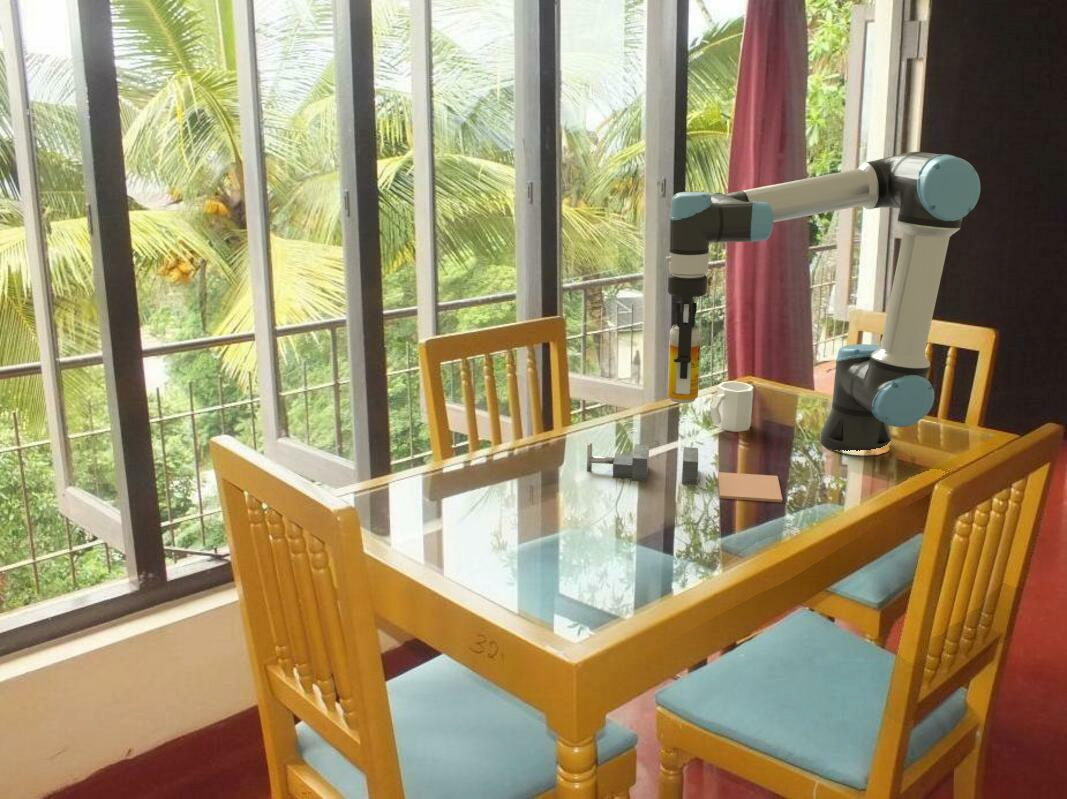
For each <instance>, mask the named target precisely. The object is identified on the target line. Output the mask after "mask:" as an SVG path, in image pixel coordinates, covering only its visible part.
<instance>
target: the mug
mask: <svg viewBox="0 0 1067 799" xmlns="http://www.w3.org/2000/svg"><path fill="white" fill-rule="evenodd" d="M753 396H754V386H753V385H751V384H749V383H747V382H740V381H735V380H731V381H722V382H720V383H719V384H718V385H717V387H716V396H715V398H714V399H713V401H712V403H711V404H710V405H709V408H710V409H709V410H710V416H711V422H712V423H713V424H714V426H716V427H717V428H718V429H720V430H721V431H728V432H733V433H737V432H744V431H749V430H750V427H751V425H752V424H751V423H752V410H753V409H752V408H753Z"/></svg>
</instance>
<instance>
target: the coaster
mask: <svg viewBox="0 0 1067 799" xmlns="http://www.w3.org/2000/svg"><path fill="white" fill-rule="evenodd" d="M717 474H718V475H717V478H718V491H719V492H718V493H719V499H727V500H739V501H740V500H743V501H756V502H769V503H783V495H782V490H781V486H780V481H779V477H778V475H772V474H771V475H768V474H753V473H736V472H735V473H734V472H720V471H719V472H718V473H717Z"/></svg>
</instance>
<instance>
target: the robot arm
mask: <svg viewBox="0 0 1067 799" xmlns="http://www.w3.org/2000/svg"><path fill="white" fill-rule="evenodd" d="M980 194H981V181H980V176H979V173H978V172H977V170H975V167H974V166H973V165H972V164H971V163H970V162H968V161H967V160H965V159H963V158H961V157H957V156H955V155H951V154H938V153H930V152H926V151H909V152H904V153H901V154H896V155H892V156H888V157H884V158H880V159H875V160H869V161H866V162H862V163H861V164H860V165H859V166H858V167H857V168H856V169H850V170H845V171H844V170H843V171H840V172H835V173H834V172H833V173H828V174H824V175H819V176H813V177H807V178H803V179H797V180H793V181H788V182H782V183H776V184H771V185H766V186H765V185H764V186H758V187H756V188H750V189H744V190H741V191H740V190H739V191H733V192H728V193H722V192H714V193H713V192H712V193H709V192H703V191H682V192H677V193H675V194H674V195H673V196H672V198H671V202H670V203H671V204H670V212H669V213H670V215H669V255H668V256H666V257H665V261H666V262H668V272H669V275H668V278H667V279H668V280H667V292H668V294H669V295H671V296H674V297H679V298H680V300H679V301H676V306H675V307H676V308H675V312H676V315H677V316H676V324H677V326H678V327H679V342H678V357H677V359H674V362H677V378H676V393H678V394H690V377H691V337H692V328H693V327H694V326H695V325H696V324H695V323H696V314H697V307H698V302H696V301H695V300H694V298H695V297H698V298H700V297H703V296H705V295H706V294H707V292H708V276H707V275H706V274H708V272H709V261H710V260H709V256H710V244H711V243H714V244H715V243H747V242H748V243H751V244H752V243H754V242H764V241H766V240H769V238H770V237H771V235H772V232H773V230H774V223H777V222H781V221H782V222H783V221H787V220H788V221H789V220H792V219H799V218H805V217H808V216H813V215H814V216H815V215H819V214H825V213H826V214H827V213H831V212H836V211H841V210H846V209H851V208H857V207H863V208H865V209H866V210H874V209H879V208H881V209H882V208H891V209H898V211H899V212H898V216H897V221H896V222H897V224H898V225H899V226H900V228H901V229H902V231H903V233H902V237H901V242H900V246H899V252H898V258H897V261H896V269H895V273H894V278H893V282H892V287H891V293H890V297H889V303H888V307H887V311H886V312H887V313H886V317H885V323H884V327H883V333H882V338H881V343H880V344H869V343H868V344H866V343H865V344H860V343H859V344H857V343H856V344H848V345H847V344H846V345H843V346H840V348H839V349H838V352H837V355H836V356H837V357H836V360H835V373H834V382H833V383H834V384H833V392H832V393H833V394H832V402H831V403H832V404H831V410H830V412H829V413H828V417H827V418H826V421H824V422H825V423H824V424H823V427H822V429H821V432H820V439H819V441H820V444H821V445H822V446H823V447H825V448H826V449H829V450H830V449H832V450H831V451H833V450H838V451H840V450H844V451H845V450H846V451H848V450H849V451H850V450H856V451H858V450H859V451H860V450H871V449H876V448H881V447H883V446H885V445H887V444H888V443H889V442H890V441H891V442H892V435H891V432H890V427H889V426H891V427H896V428H906V427H911V426H912V425H915V424H917V423H918V422H919V421H920V420H923V419H924V418H925V417H926V416H927V415H928V414H929V412H930V411H931V409H932V408H933V405H934V401H935V391H934V390H935V389H934V388H933V386H932V384H931V382H930V381H929V380H928V378H929V372H930V368H931V362H930V361H929V359H928V358H927V356H926V355H925V354H926V348H927V345H928V344H927V343H928V338H929V336H930V335H929V334H930V331H931V325H932V321H933V317H934V316H933V315H934V311H935V307H936V302H937V297H938V293H939V289H940V282H941V278H942V275H943V270H944V265H945V260H946V256H947V252H948V251H947V250H948V246H949V242H950V237H951V236H952V235H954V234H955V233H956V232H959V230H961V226H962V221H963V218H964V217H966V216H967V215H968V214H969V212H971V211H973V210H974V208H975V206H976V205H977V203H978V201H979V199H980Z"/></svg>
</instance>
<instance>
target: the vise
mask: <svg viewBox="0 0 1067 799" xmlns="http://www.w3.org/2000/svg"><path fill="white" fill-rule="evenodd" d="M586 450H587V451H586V472H592V468H593V467H592V466H593V464H604V465H612V478H616V479H617V478H618V479H631V481H632V482H633V481H634V482H647V481H648V472H649V470H648V469H649V458H650V444H637V443H635V444H634V448H633V453H631V454H630V453H629V454H628V453H627V454H626V453H615V454H614V457H613V456H612V457H610V456H597V455H596V456H594V455H593V443H592V442H588V443H587V448H586ZM682 453H683V454H682V467H681V468H682V472H681V475H682V476H681V484H682V485H693V486H694V485H696V486H697V485H698V471H699V447H689V446H688V447H687V446H683V452H682Z"/></svg>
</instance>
